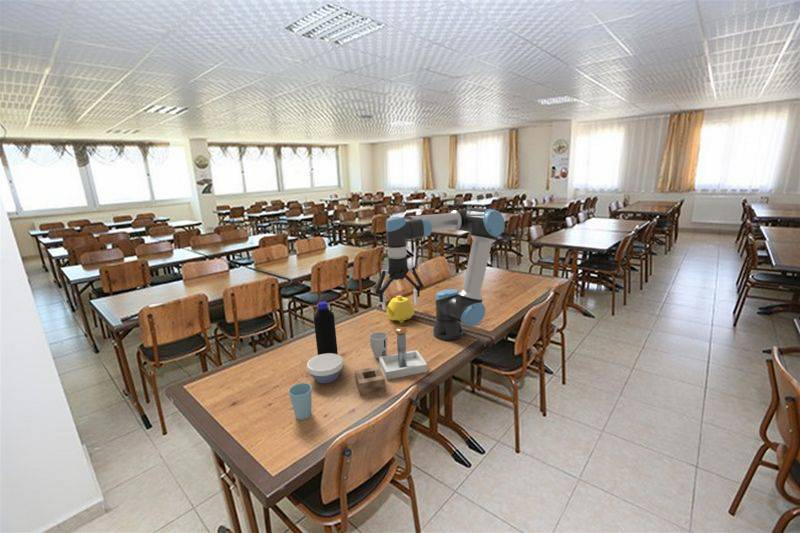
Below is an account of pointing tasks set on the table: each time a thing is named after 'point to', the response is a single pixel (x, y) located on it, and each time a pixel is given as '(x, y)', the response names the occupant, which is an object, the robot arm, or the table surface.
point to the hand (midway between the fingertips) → (400, 306)
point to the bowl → (325, 367)
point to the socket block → (369, 380)
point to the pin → (401, 346)
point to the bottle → (325, 330)
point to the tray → (393, 371)
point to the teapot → (400, 309)
